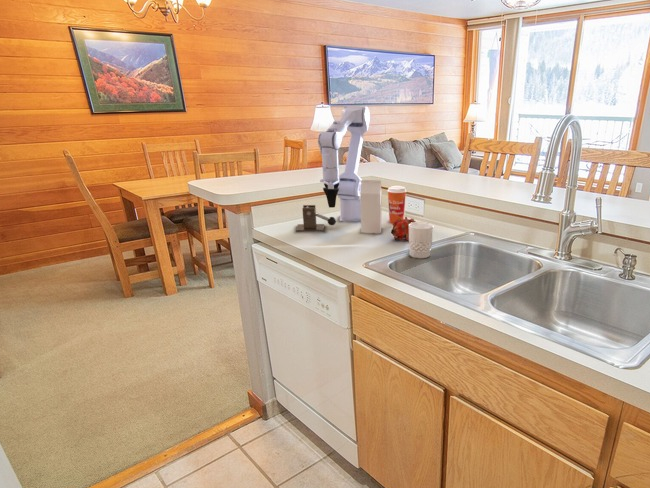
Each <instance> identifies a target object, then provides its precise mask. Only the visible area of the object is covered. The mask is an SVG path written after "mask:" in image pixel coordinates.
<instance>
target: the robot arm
mask: <svg viewBox="0 0 650 488" xmlns="http://www.w3.org/2000/svg"><path fill="white" fill-rule="evenodd" d="M370 114H371V113H370V110H369V108H368V106H365V105H364V106H352V105H349V106H348V105H344V106H343V107H342V109H341V116H340V118H339V119H338V120H334V121H333V122H332V124H331V125H329V127H328V128H327V130H326V131H321V133H319V135H318V139H317V145H318V147H319V153H320V154H321V163H322V165H321V166H322V178H320V179H319V182H320V183H323V186H324V187H322V190H323V192H324V193H325V194H324V195H325V197H326V200H327V205H328V208H336V202H337V198H338V199H339V208H340V209H339V211H340V212H339V213H340V215H339V222H361V180H363V179H362V178H361V177H360V176H359V175H358V170H359V165H360V160H361V159H360V157H361V153H362V147H363V142H364V135H365V134H366V132H368V131H369V126H370V119H371V115H370ZM347 131H348V132H349V133H350V134H351V135H350V139H349V143H348V149H347V155H346V161H345V167H344V171H343V172H342V173H341V174H340V171H339V169H340V168H339V149H340V148H341V143H342V141H343V138H344V136H346V134H347ZM337 196H338V197H337Z"/></svg>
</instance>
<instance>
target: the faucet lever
mask: <svg viewBox="0 0 650 488" xmlns="http://www.w3.org/2000/svg"><path fill="white" fill-rule="evenodd" d="M307 208H310V207H308V206H307ZM315 216H316V218H319V219H322V220H324V221H327V224H328V225H329V226H334V225H336V223H337V220H336V217H334V216H329V217H328V216H325V215H323V214H321V213H318V212H317V211H316V212H315Z"/></svg>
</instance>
